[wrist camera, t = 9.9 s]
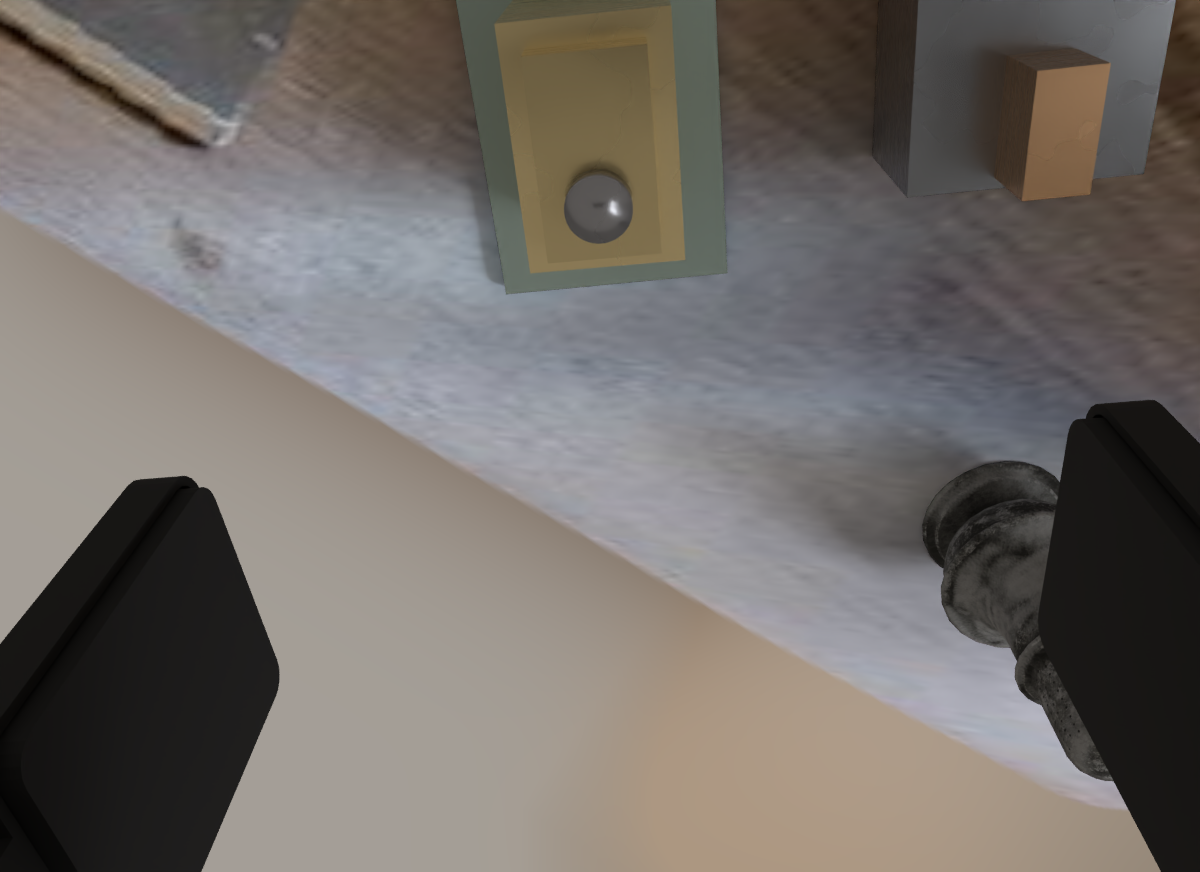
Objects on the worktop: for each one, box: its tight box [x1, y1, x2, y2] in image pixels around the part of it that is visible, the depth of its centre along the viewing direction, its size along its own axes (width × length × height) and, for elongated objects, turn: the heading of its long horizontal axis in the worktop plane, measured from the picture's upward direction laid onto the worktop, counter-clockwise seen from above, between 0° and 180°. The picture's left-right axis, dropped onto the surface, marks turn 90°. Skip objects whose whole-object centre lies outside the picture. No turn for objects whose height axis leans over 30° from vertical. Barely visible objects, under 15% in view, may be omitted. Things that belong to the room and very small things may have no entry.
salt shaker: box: [923, 462, 1113, 781], centre depth 30 cm, size 6×6×12 cm
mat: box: [456, 0, 727, 294], centre depth 28 cm, size 7×10×1 cm
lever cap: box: [494, 0, 685, 273], centre depth 24 cm, size 4×6×7 cm, turn 6°
